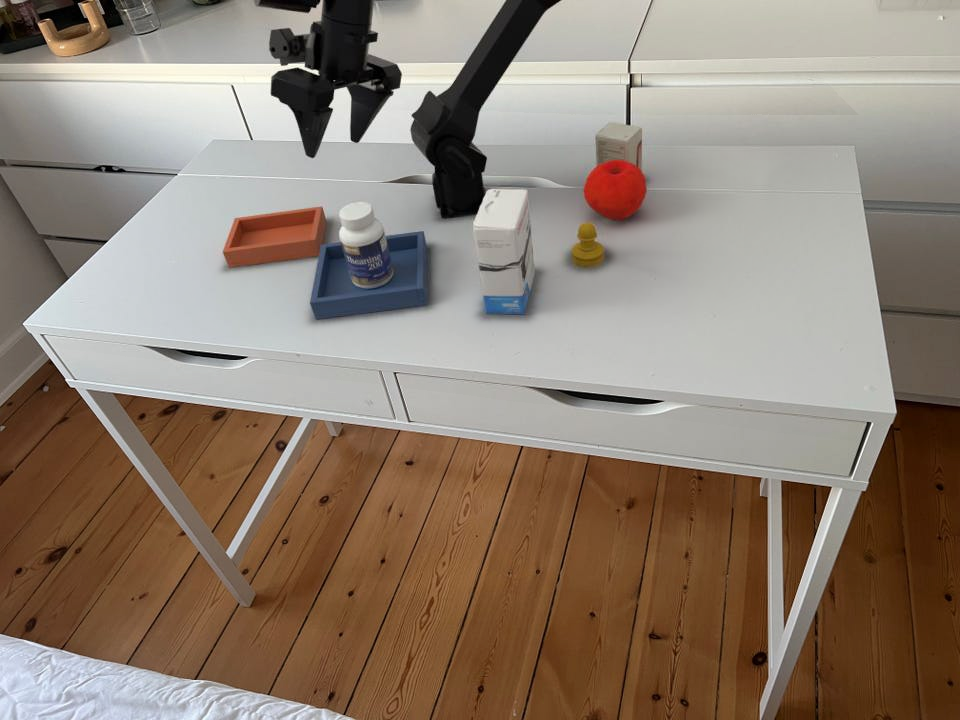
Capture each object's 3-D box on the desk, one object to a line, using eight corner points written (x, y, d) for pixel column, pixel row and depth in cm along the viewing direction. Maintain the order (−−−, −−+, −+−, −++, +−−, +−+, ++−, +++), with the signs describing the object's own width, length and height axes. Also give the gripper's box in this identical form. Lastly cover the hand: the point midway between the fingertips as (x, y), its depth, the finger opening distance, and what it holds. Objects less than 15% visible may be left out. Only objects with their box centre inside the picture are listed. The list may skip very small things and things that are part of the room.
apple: (581, 230, 100) (578, 180, 95) (588, 198, 106) (587, 149, 101) (643, 232, 98) (644, 180, 93) (648, 199, 104) (649, 149, 99)
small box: (642, 179, 108) (643, 126, 102) (628, 194, 105) (628, 140, 100) (610, 172, 110) (610, 120, 105) (595, 186, 108) (594, 134, 103)
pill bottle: (349, 292, 95) (329, 225, 89) (355, 267, 99) (336, 201, 93) (392, 288, 95) (375, 220, 88) (396, 263, 99) (380, 196, 92)
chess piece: (606, 250, 96) (606, 215, 93) (600, 268, 93) (599, 233, 90) (575, 248, 97) (574, 213, 94) (568, 266, 95) (566, 231, 91)
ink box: (525, 315, 89) (516, 228, 81) (483, 314, 90) (470, 228, 82) (536, 272, 95) (528, 186, 87) (497, 271, 96) (485, 187, 88)
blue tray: (427, 247, 102) (423, 230, 100) (426, 305, 92) (423, 287, 91) (326, 260, 102) (320, 244, 101) (315, 319, 93) (309, 302, 91)
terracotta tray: (326, 221, 110) (322, 206, 108) (320, 255, 104) (315, 239, 102) (240, 233, 111) (234, 218, 109) (229, 267, 104) (222, 251, 102)
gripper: (338, -6, 98) (326, 115, 106) (234, 2, 83) (230, 142, 92) (412, 19, 95) (393, 142, 103) (318, 33, 80) (306, 174, 89)
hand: (333, 149), depth 97 cm, fingers open, 9 cm apart
